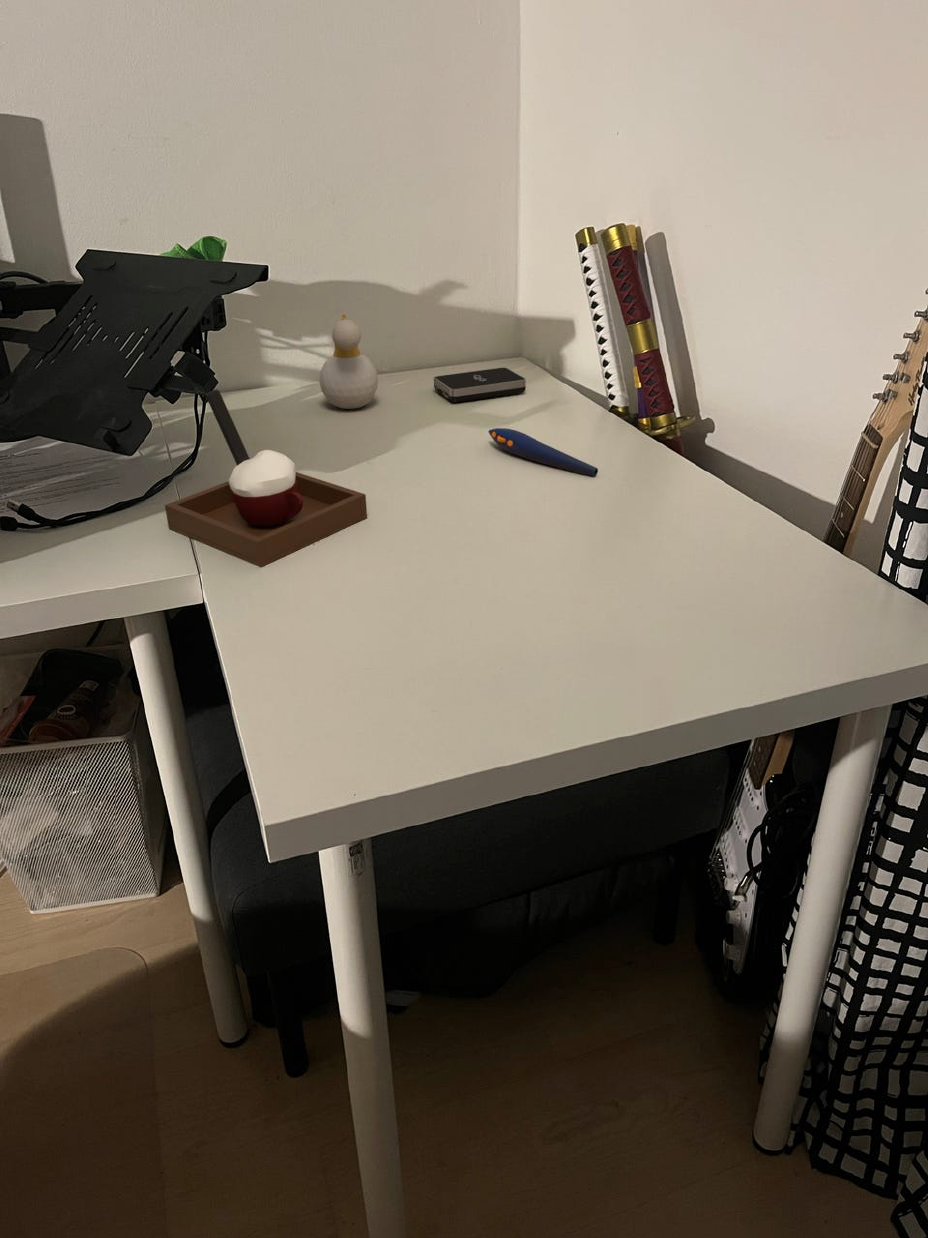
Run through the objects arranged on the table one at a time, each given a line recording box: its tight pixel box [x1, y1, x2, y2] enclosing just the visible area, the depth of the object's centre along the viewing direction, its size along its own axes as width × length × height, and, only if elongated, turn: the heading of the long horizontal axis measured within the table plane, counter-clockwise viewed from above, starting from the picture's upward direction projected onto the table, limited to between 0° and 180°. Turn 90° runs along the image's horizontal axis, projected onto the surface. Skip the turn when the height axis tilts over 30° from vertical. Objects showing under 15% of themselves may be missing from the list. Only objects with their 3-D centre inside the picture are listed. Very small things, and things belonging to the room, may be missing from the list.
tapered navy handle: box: [488, 427, 599, 477], centre depth 108 cm, size 16×4×2 cm, turn 45°
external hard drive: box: [433, 366, 527, 403], centre depth 131 cm, size 7×11×2 cm, turn 113°
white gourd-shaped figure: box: [319, 314, 379, 410], centre depth 123 cm, size 8×10×12 cm
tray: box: [164, 471, 368, 568], centre depth 94 cm, size 14×14×2 cm
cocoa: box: [205, 389, 303, 527], centre depth 91 cm, size 10×6×12 cm, turn 34°
